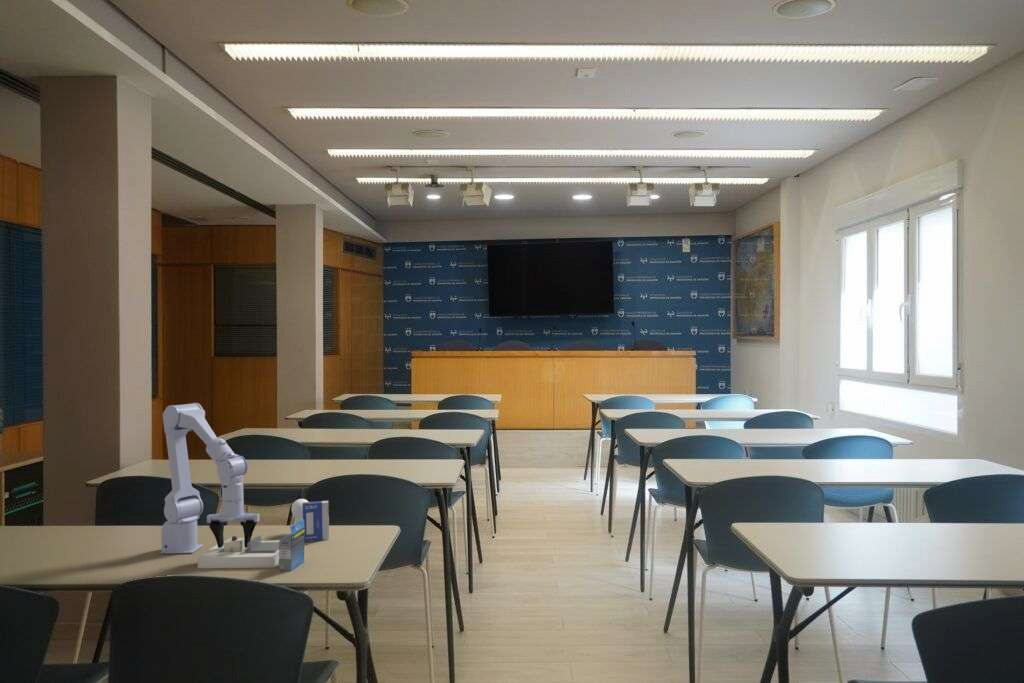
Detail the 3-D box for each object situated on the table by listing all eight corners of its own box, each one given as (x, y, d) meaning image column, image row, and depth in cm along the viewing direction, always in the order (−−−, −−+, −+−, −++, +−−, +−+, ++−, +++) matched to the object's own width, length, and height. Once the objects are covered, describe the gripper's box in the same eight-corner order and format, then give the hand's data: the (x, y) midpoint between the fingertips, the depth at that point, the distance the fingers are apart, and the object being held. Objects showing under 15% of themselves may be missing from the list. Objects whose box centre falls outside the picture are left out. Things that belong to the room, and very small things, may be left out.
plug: (223, 561, 211) (223, 539, 211) (230, 557, 216) (229, 534, 215) (239, 561, 211) (239, 538, 211) (245, 556, 215) (245, 534, 215)
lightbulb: (305, 535, 237) (305, 501, 237) (288, 535, 238) (287, 500, 238) (314, 530, 243) (314, 497, 243) (297, 530, 244) (296, 496, 244)
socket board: (197, 568, 205) (197, 556, 205) (221, 551, 221) (221, 540, 221) (273, 567, 205) (272, 555, 205) (291, 550, 221) (291, 539, 221)
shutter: (245, 552, 209) (244, 543, 208) (256, 544, 217) (255, 535, 217) (275, 552, 208) (274, 543, 208) (284, 543, 217) (284, 535, 217)
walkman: (303, 541, 230) (302, 503, 230) (303, 539, 233) (302, 501, 233) (329, 539, 232) (328, 501, 232) (329, 537, 235) (328, 499, 235)
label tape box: (292, 561, 210) (291, 518, 210) (305, 561, 210) (304, 518, 210) (278, 571, 201) (277, 526, 201) (292, 571, 201) (291, 526, 201)
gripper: (201, 503, 209) (202, 551, 209) (252, 502, 209) (253, 550, 209) (212, 497, 216) (213, 544, 216) (261, 496, 216) (262, 543, 216)
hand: (234, 546), depth 213 cm, fingers open, 7 cm apart
